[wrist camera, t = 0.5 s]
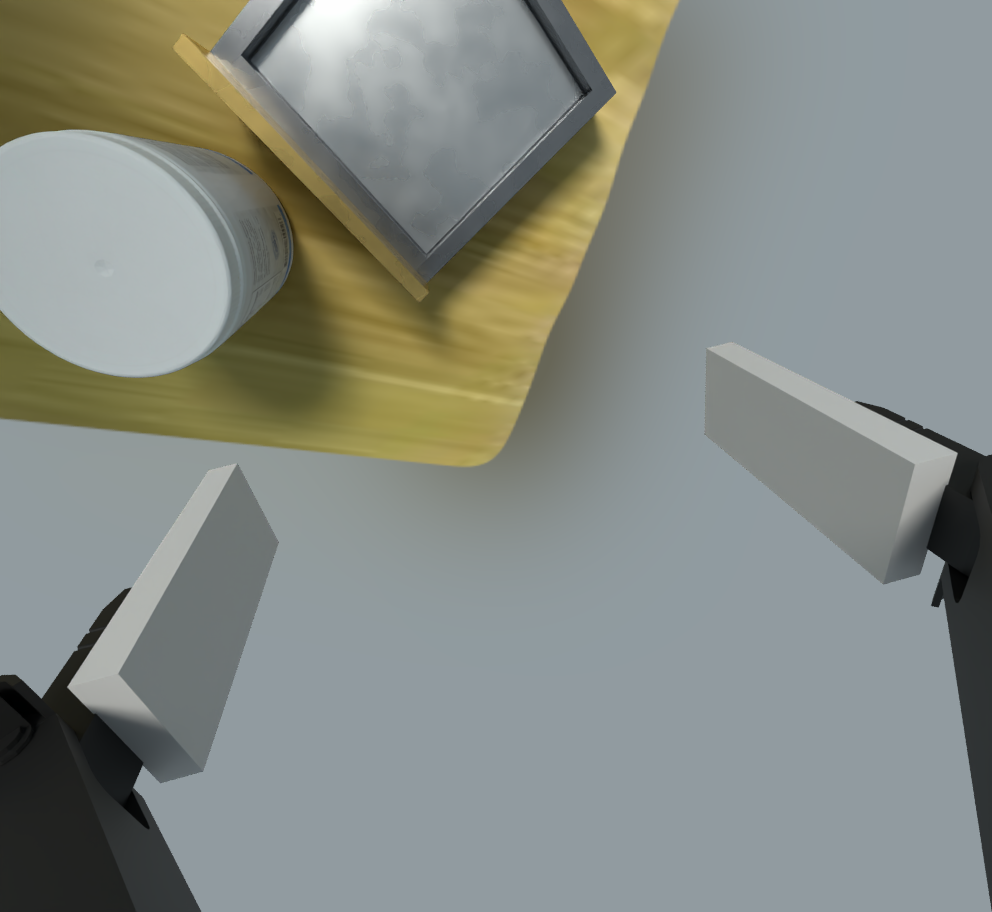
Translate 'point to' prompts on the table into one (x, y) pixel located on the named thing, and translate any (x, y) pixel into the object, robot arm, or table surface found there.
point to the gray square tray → (407, 109)
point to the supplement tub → (134, 248)
